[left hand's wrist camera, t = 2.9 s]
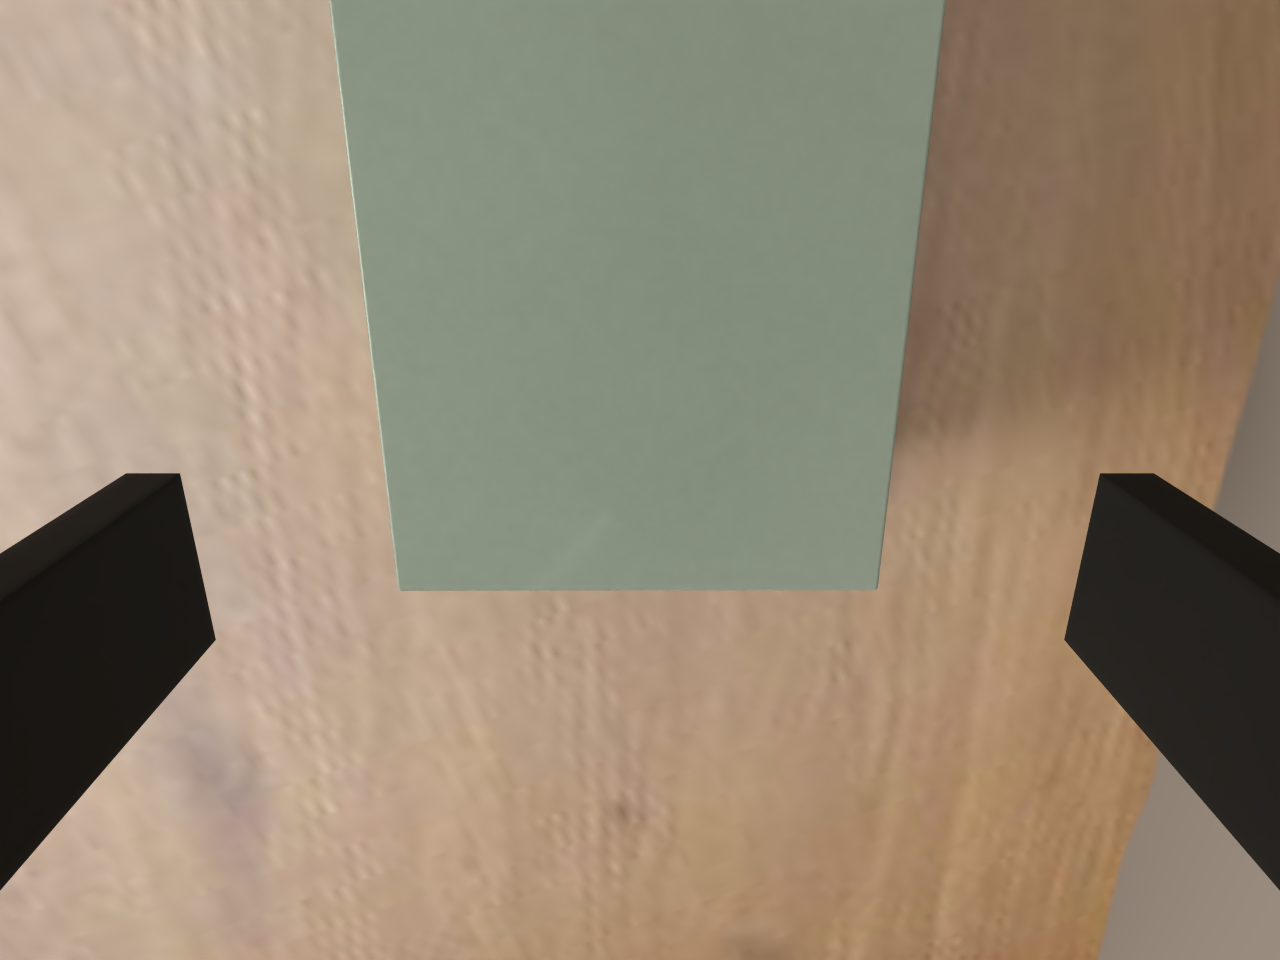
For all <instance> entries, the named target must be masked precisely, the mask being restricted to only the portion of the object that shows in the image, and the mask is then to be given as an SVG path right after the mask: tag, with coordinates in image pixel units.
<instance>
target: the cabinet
mask: <svg viewBox="0 0 1280 960" xmlns="http://www.w3.org/2000/svg"><path fill="white" fill-rule="evenodd" d="M329 3H330V12H331V20H332V29H333V37H334V46H335V54H336V63H337V71H338V80H339V88H340V97H341V105H342V114H343V123H344V131H345V140H346V148H347V157H348V165H349V174H350V182H351V191H352V199H353V208H354V216H355V225H356V233H357V242H358V250H359V259H360V267H361V276H362V284H363V293H364V301H365V310H366V319H367V327H368V336H369V344H370V353H371V361H372V370H373V378H374V387H375V395H376V404H377V412H378V421H379V429H380V438H381V446H382V455H383V463H384V472H385V480H386V489H387V497H388V506H389V515H390V523H391V532H392V540H393V549H394V557H395V566H396V574H397V583H398V589H399V590H401V591H449V590H877V588H878V581H879V572H880V564H881V555H882V547H883V538H884V529H885V521H886V512H887V504H888V495H889V486H890V478H891V469H892V460H893V452H894V443H895V435H896V426H897V417H898V409H899V400H900V392H901V383H902V374H903V366H904V357H905V349H906V340H907V331H908V323H909V314H910V305H911V297H912V288H913V280H914V271H915V262H916V254H917V245H918V237H919V228H920V219H921V211H922V202H923V194H924V185H925V176H926V168H927V159H928V151H929V142H930V133H931V125H932V116H933V107H934V99H935V90H936V82H937V73H938V64H939V56H940V47H941V39H942V30H943V21H944V13H945V4H946V0H329Z"/></svg>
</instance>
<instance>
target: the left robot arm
mask: <svg viewBox="0 0 1280 960" xmlns="http://www.w3.org/2000/svg"><path fill="white" fill-rule="evenodd" d="M215 640H216V639H215V634H214V630H213V625H212V620H211V616H210V611H209V606H208V602H207V597H206V592H205V588H204V583H203V579H202V574H201V569H200V565H199V560H198V555H197V551H196V546H195V541H194V537H193V532H192V527H191V523H190V518H189V514H188V509H187V504H186V500H185V495H184V490H183V486H182V481H181V476H180V473H126V474H125V475H123V476H121V477H120V478H118V479H117V480H115V481H114V482H112V483H110V484H109V485H107V486H106V487H104V488H103V489H101V490H99V491H98V492H96V493H95V494H93V495H92V496H90V497H88V498H87V499H85V500H84V501H82V502H81V503H79V504H77V505H76V506H74V507H73V508H71V509H70V510H68V511H66V512H65V513H63V514H62V515H60V516H59V517H57V518H56V519H54V520H52V521H51V522H49V523H48V524H46V525H45V526H43V527H41V528H40V529H38V530H37V531H35V532H34V533H32V534H30V535H29V536H27V537H26V538H24V539H23V540H21V541H19V542H18V543H16V544H15V545H13V546H12V547H10V548H8V549H7V550H5V551H4V552H2V553H1V554H0V890H1V889H2V888H3V887H4V885H5V884H6V883H7V882H8V881H9V880H10V878H11V877H12V876H13V875H14V874H15V873H16V871H17V870H18V869H19V868H20V867H21V866H22V864H23V863H24V862H25V861H26V860H27V859H28V857H29V856H30V855H31V854H32V853H33V852H34V850H35V849H36V848H37V847H38V846H39V845H40V843H41V842H42V841H43V840H44V839H45V838H46V836H47V835H48V834H49V833H50V832H51V831H52V830H53V828H54V827H55V826H56V825H57V824H58V823H59V821H60V820H61V819H62V818H63V817H64V816H65V814H66V813H67V812H68V811H69V810H70V809H71V807H72V806H73V805H74V804H75V803H76V802H77V800H78V799H79V798H80V797H81V796H82V795H83V793H84V792H85V791H86V790H87V789H88V788H89V786H90V785H91V784H92V783H93V782H94V781H95V780H96V778H97V777H98V776H99V775H100V774H101V773H102V771H103V770H104V769H105V768H106V767H107V766H108V764H109V763H110V762H111V761H112V760H113V759H114V757H115V756H116V755H117V754H118V753H119V752H120V750H121V749H122V748H123V747H124V746H125V745H126V743H127V742H128V741H129V740H130V739H131V738H132V736H133V735H134V734H135V733H136V732H137V731H138V729H139V728H140V727H141V726H142V725H143V724H144V723H145V721H146V720H147V719H148V718H149V717H150V716H151V714H152V713H153V712H154V711H155V710H156V709H157V707H158V706H159V705H160V704H161V703H162V702H163V700H164V699H165V698H166V697H167V696H168V695H169V693H170V692H171V691H172V690H173V689H174V688H175V686H176V685H177V684H178V683H179V682H180V681H181V679H182V678H183V677H184V676H185V675H186V674H187V673H188V671H189V670H190V669H191V668H192V667H193V666H194V664H195V663H196V662H197V661H198V660H199V659H200V657H201V656H202V655H203V654H204V653H205V652H206V650H207V649H208V648H209V647H210V646H211V645H212V643H213V642H214V641H215ZM1064 640H1065V641H1066V642H1067V643H1068V645H1069V646H1070V647H1071V648H1072V649H1073V650H1074V652H1075V653H1076V654H1077V655H1078V656H1079V657H1080V659H1081V660H1082V661H1083V662H1084V663H1085V664H1086V666H1087V667H1088V668H1089V669H1090V670H1091V671H1092V673H1093V674H1094V675H1095V676H1096V677H1097V678H1098V679H1099V681H1100V682H1101V683H1102V684H1103V685H1104V686H1105V688H1106V689H1107V690H1108V691H1109V692H1110V693H1111V695H1112V696H1113V697H1114V698H1115V699H1116V700H1117V702H1118V703H1119V704H1120V705H1121V706H1122V707H1123V709H1124V710H1125V711H1126V712H1127V713H1128V714H1129V716H1130V717H1131V718H1132V719H1133V720H1134V721H1135V723H1136V724H1137V725H1138V726H1139V727H1140V728H1141V730H1142V731H1143V732H1144V733H1145V734H1146V735H1147V736H1148V738H1149V739H1150V740H1151V741H1152V742H1153V743H1154V745H1155V746H1156V747H1157V748H1158V749H1159V750H1160V752H1161V753H1162V754H1163V755H1164V756H1165V757H1166V759H1167V760H1168V761H1169V762H1170V763H1171V764H1172V766H1173V767H1174V768H1175V769H1176V770H1177V771H1178V773H1179V774H1180V775H1181V776H1182V777H1183V778H1184V779H1185V781H1186V782H1187V783H1188V784H1189V785H1190V786H1191V788H1192V789H1193V790H1194V791H1195V792H1196V793H1197V795H1198V796H1199V797H1200V798H1201V799H1202V800H1203V802H1204V803H1205V804H1206V805H1207V806H1208V807H1209V809H1210V810H1211V811H1212V812H1213V813H1214V814H1215V815H1216V817H1217V818H1218V819H1219V820H1220V821H1221V823H1222V824H1223V825H1224V826H1225V827H1226V828H1227V830H1228V831H1229V832H1230V833H1231V834H1232V835H1233V836H1234V838H1235V839H1236V840H1237V841H1238V842H1239V843H1240V845H1241V846H1242V847H1243V848H1244V849H1245V850H1246V852H1247V853H1248V854H1249V855H1250V856H1251V857H1252V859H1253V860H1254V861H1255V862H1256V863H1257V864H1258V866H1259V867H1260V868H1261V869H1262V870H1263V871H1264V872H1265V874H1266V875H1267V876H1268V877H1269V878H1270V880H1271V881H1272V882H1273V883H1274V884H1275V885H1276V887H1277V888H1278V889H1279V890H1280V554H1279V553H1278V552H1276V551H1275V550H1273V549H1272V548H1270V547H1268V546H1267V545H1265V544H1264V543H1262V542H1261V541H1259V540H1257V539H1256V538H1254V537H1253V536H1251V535H1250V534H1248V533H1246V532H1245V531H1243V530H1242V529H1240V528H1239V527H1237V526H1235V525H1234V524H1232V523H1231V522H1229V521H1228V520H1226V519H1224V518H1223V517H1221V516H1220V515H1218V514H1217V513H1215V512H1214V511H1212V510H1210V509H1209V508H1207V507H1206V506H1204V505H1203V504H1201V503H1199V502H1198V501H1196V500H1195V499H1193V498H1192V497H1190V496H1188V495H1187V494H1185V493H1184V492H1182V491H1181V490H1179V489H1177V488H1176V487H1174V486H1173V485H1171V484H1170V483H1168V482H1166V481H1165V480H1163V479H1162V478H1160V477H1159V476H1157V475H1155V474H1154V473H1100V476H1099V481H1098V486H1097V490H1096V495H1095V500H1094V504H1093V509H1092V514H1091V518H1090V523H1089V527H1088V532H1087V537H1086V541H1085V546H1084V551H1083V555H1082V560H1081V565H1080V569H1079V574H1078V579H1077V583H1076V588H1075V592H1074V597H1073V602H1072V606H1071V611H1070V616H1069V620H1068V625H1067V630H1066V634H1065V639H1064Z"/></svg>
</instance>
